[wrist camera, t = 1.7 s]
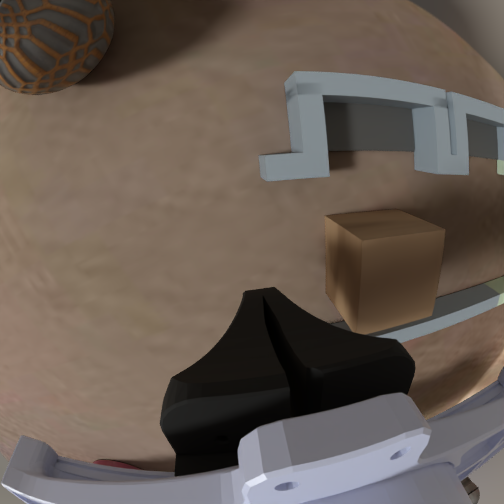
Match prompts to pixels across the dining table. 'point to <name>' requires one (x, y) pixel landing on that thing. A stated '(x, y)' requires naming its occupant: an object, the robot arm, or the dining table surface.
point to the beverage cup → (471, 490)
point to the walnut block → (382, 267)
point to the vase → (51, 42)
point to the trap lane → (392, 139)
